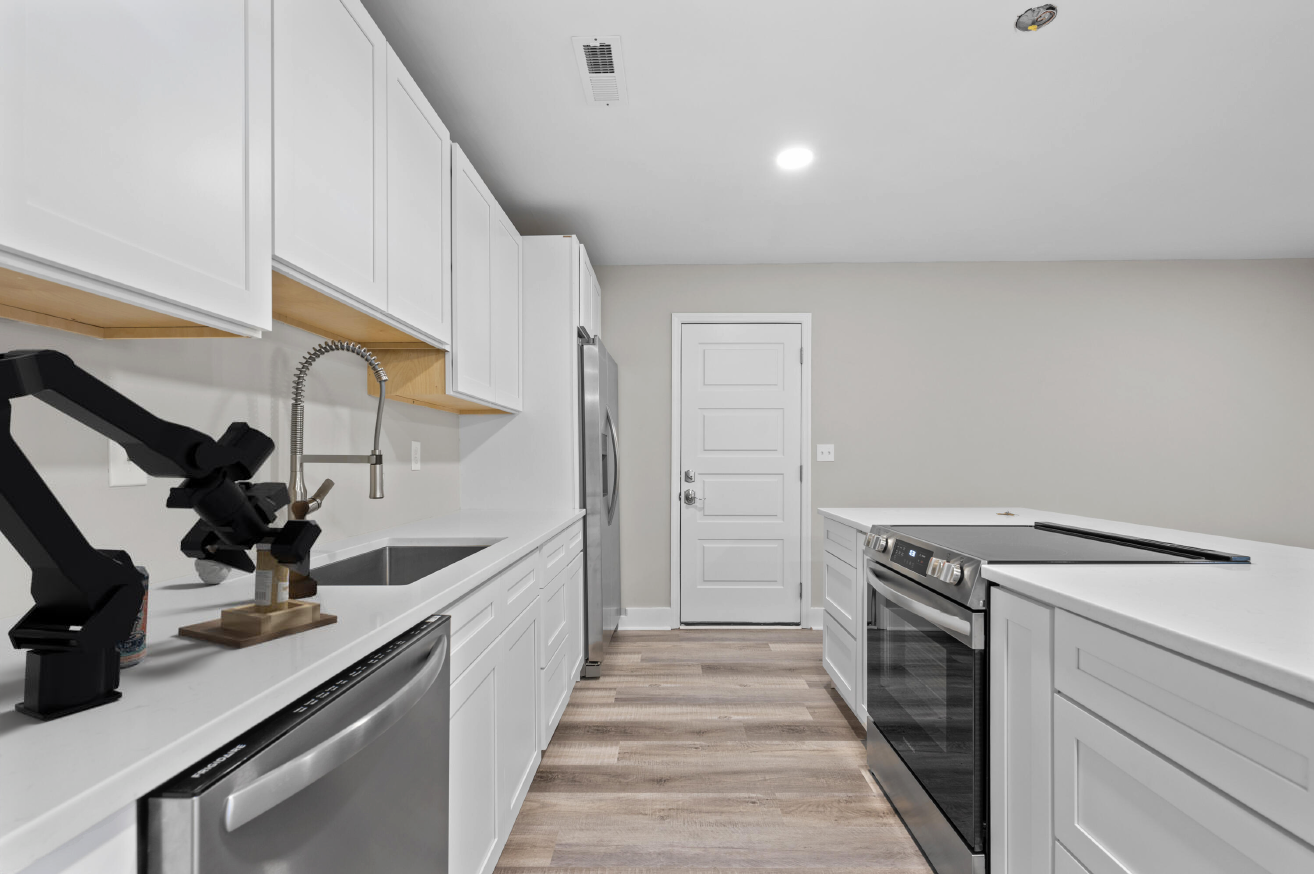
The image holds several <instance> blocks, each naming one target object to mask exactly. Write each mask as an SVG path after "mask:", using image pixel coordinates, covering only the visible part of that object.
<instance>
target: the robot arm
mask: <svg viewBox="0 0 1314 874" xmlns="http://www.w3.org/2000/svg"><path fill="white" fill-rule="evenodd" d="M29 396H33V398H36V399H38V400H39V401H41V402H44V403H45V404H47V405H49V406H50V407H52V408H54V409H56V410H58V411H60V412H61V413H63V414H64V415H67V416H68V417H70V418H72V419H74V420H76V421H77V422H80V423H81V424H83V425H85V426H86V427H88V428H89V429H91V430H94V432H98V433H99V434H100V435H102V436H104V437H106V438H108V439H110V440H112V441H113V442H115V443H116V444H118V445H119V446H120V447H122V449H124V450H125V453H126V456H127V458H128V459H129V461H130V462H132V463H133V464H134V465H136V466H137V467H138V468H139V469H140V470H142V471H143V472H144V474H145V473H146V474H147V475H149V476H150V477H152V478H153V477H154V478H156V479H157V478H159V479H160V478H162V479H163V478H164V479H166V478H167V479H169V478H170V479H183V481H182V482H181V483H180V484H179V485H178V486H177V487H176V486H174V487H170V488H169V495H168V496H167V498H166V502H165V508H167V509H182V510H183V509H184V510H185V509H186V510H187V509H188V510H193V511H194V512H195V513H196V514H197V516H199V519H198V520H197V521H196V522H195V523H194V525H193V526H192V527H191V528H190V529H189V531H188V532H187V533H186V534H185V535H184V536H183V538H182V539H181V540H180V548H179V549H180V552H181V553H183V554H184V555H185V557H186V558H189V559H198V560H201V561H207V562H211V563H214V564H218V565H222V566H226V567H230V568H232V569H234V570H236V571H237V570H238V571H241V572H245V573H248V574H253V573H254V572H256V565H255V563H254V561H253V559H251V557H250V555H249V554H248V553H247V552H246V551H252V549H253V548H254V546H256V544H271V551H270V554H271V555H272V556H273V557H274V558H275V559H277V560H278V562H277V563H278V564H280V565H282V566H284V567H287V568H289V569H291V570H293V571H295V572H297V573H299V574H301V575H304V576H307V574H308V573H309V571H310V572H311V565H310V566H309V559H308V552H309V551H310V552H311V550H312V548H313V547H314V544H315V543H316V542H317V540H318V538H319V537H320V535H321V533H322V532H323V530H322V527H320V525H319V524H318V523H317V521H316V520H315V519H304V520H296V519H295V518H294V519H288V520H287V521H286V522H285V523H284V525H283V527H270V524H274V522H275V521H276V520H277V518H278V516H277V514H276V513H277V512H278V511H280V510H281V509H283V508H284V507H285V506H289V505H290V504H291V503H292V499H291V495H290V492H289V489H288V486H287V483H286V482H279V481H278V482H275V481H274V482H273V481H272V482H271V481H270V482H269V481H264V482H263V481H262V482H254V483H252V482H251V481H250V480H252V479H253V477H254V476H255V475H256V474H257V472H258V471H259V470H260V468H261V467H262V466H263V465H264V463H265V462H266V461H267V460H268V458H269V457H270V456H271V455H272V453H274V451H275V450H276V444H275V441H274V440H273V439H272V437H271V436H268V435H267V434H265V433H264V432H262V431H260V430H258V429H256V428H254V427H251V426H250V425H249V423H248V422H246V421H233V422H231V423H230V425H228V427H227V429H226V430H225V432H224V433H223V434H222V435H221V437H219V439H218V440H215V439H214V438H213V437H212V436H211V435H209V434H207V433H205V432H202V431H200V430H198V429H195V428H193V427H190V426H187V425H183V424H179V423H175V422H173V421H168V420H166V419H164V418H160V417H159V416H156V415H155V414H154V413H152V412H150V410H147V409H145V408H144V407H142V406H141V405H140V404H138V403H136V402H135V401H134V400H132V399H130V398H129V397H127V396H125V395H124V394H123V393H121V392H119V391H118V390H117V389H115V388H114V387H111V386H110V385H108V384H106V383H105V382H104V381H102V380H101V379H99V378H97V377H96V376H94V375H92V374H91V373H90V372H88V371H86V370H85V369H83V368H82V367H80V366H78V365H77V364H76V363H75V361H74V360H73V359H72V358H71V357H70V356H69V355H67V354H65V353H62V352H61V351H59V350H56V349H49V348H46V349H45V348H42V349H35V348H32V349H31V348H30V349H29V348H28V349H25V348H24V349H21V348H20V349H13V350H9V351H8V352H0V532H1V534H2V535H3V536H4V537H5V539H6V540H7V541H8V542H9V544H10V545H11V546H12V547H13V549H14V550H15V551H16V552H17V553H18V555H19V556H20V557H21V558H22V559H23V560H24V562H25V563H26V564H27V566H28V567H29V568H30V570H31V579H30V580H31V581H30V596H31V597H32V599H33V601H34V602H35V604H33V606H31V608H30V609H29V610H28V611H27V612H26V613H25V614H24V615H22V617H21V618H20V619H19V620H18V621H17V622H16V623H15V624H14V625H13V626H12V627H11V628H10V629H9V630H8V633H7V636H8V638H9V640H10V643H11V645H12V647H13V649H14V650H23V649H24V650H26V653H25V668H24V669H25V670H24V671H25V672H24V690H23V691H24V692H23V701H21V702H18V703H15V705H14V709H15V710H16V711H19V712H22V713H25V714H27V715H30V716H31V717H32V716H33V717H34V718H38V719H41V720H50V719H51V720H52V719H54V718H57V717H61V716H64V715H67V714H71V713H74V712H77V711H82V710H85V709H87V708H91V707H95V706H98V705H102V704H105V703H108V702H112V701H115V700H119V699H122V698H123V691H122V692H121V691H118V690H117V689H118V688H119V687H120V682H121V679H120V678H121V668H120V662H121V652H120V651H118V650H116V644H119V643H123V642H126V641H128V640H129V638H130V635H131V632H132V630H133V627H134V624H135V622H136V619H137V616H138V613H139V611H140V608H141V605H142V602H143V597H144V596H145V594H146V592H145V587H144V585H143V583H142V581H141V580H140V579H141V578H144V577H145V574H143V573H141V572H139V571H138V570H137V569H136V568H135V566H136V565H135V564H134V562H133V559H132V558H131V555H129V553H128V552H127V551H126V550H125V549H112V548H111V549H110V548H109V549H108V548H105V549H103V548H95V547H93V546H92V545H91V544H90V542H89V541H88V539H87V538H86V537H85V535H84V533H82V531H81V530H80V529H79V528H78V526H77V524H76V523H75V521H73V518H72V517H71V516H70V515H69V514H68V512H67V511H66V509H65V507H64V506H63V505H62V504H61V502H60V501H59V500H58V498H57V497H56V495H55V493H53V491H52V490H51V488H50V487H49V486H48V484H47V483H46V482H45V481H44V479H43V478H42V476H41V475H40V473H39V472H38V470H36V468H35V467H34V465H33V463H32V462H31V461H30V460H29V458H28V457H27V455H26V454H25V453H24V452H23V449H21V447H20V446H19V444H18V443H17V442H16V441H15V439H14V437H13V436H12V433H11V422H12V421H11V420H12V419H11V418H12V407H13V405H12V404H11V401H10V400H11V399H18V398H23V397H29ZM71 627H81V628H80V629H70V628H71Z"/></svg>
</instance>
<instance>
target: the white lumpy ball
mask: <svg viewBox="0 0 1314 874" xmlns="http://www.w3.org/2000/svg"><path fill="white" fill-rule="evenodd" d="M194 569H195V571H196V572H197V573H198V577H199V578H200V580H201V581H202V582H203V583H205V584H207V585H218V584H220V583H223V582H224V581H225V580H227V578H228V577H229V575H230V572H232V569H233V568H230V567H226V566H222V565H218V564H214V563H211V562H207V561H201V560H198V559H197V558H195V560H194Z"/></svg>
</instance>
